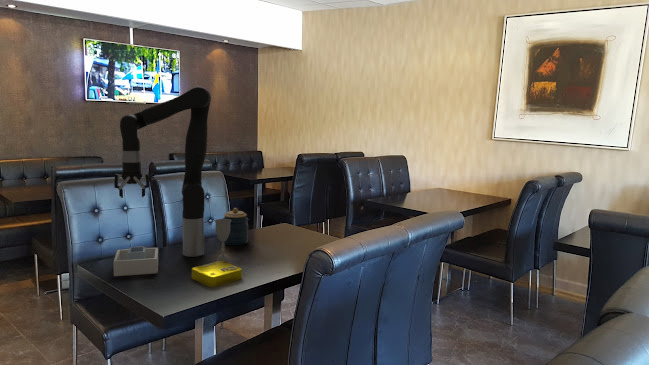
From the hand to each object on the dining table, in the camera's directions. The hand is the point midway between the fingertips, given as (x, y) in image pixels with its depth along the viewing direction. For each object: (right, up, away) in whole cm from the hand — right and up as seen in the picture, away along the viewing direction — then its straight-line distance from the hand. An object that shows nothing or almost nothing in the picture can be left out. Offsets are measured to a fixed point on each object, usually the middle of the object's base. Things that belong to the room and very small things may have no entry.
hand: (132, 197), depth 207 cm
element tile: (+43, -32, -23) cm, 58 cm away
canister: (+40, -24, +28) cm, 54 cm away
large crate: (+8, -29, -15) cm, 33 cm away
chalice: (+40, -28, -1) cm, 49 cm away
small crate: (+8, -28, -15) cm, 33 cm away
